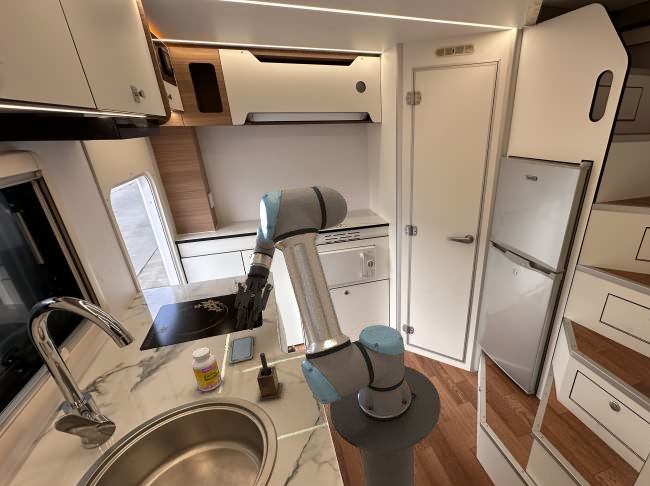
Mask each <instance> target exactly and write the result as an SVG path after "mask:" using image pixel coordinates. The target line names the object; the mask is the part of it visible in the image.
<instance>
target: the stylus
mask: <svg viewBox="0 0 650 486" xmlns="http://www.w3.org/2000/svg"><path fill="white" fill-rule="evenodd" d="M259 357H260V362H261V366H262V367H261V368H263V371H264V376H266V375H269V370H268V367H269V366H268V362H267V357H266V353H265V352H261V353H259Z"/></svg>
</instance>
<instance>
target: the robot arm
mask: <svg viewBox="0 0 650 486" xmlns="http://www.w3.org/2000/svg"><path fill="white" fill-rule="evenodd" d="M259 207H260V211H259V212H260V223H259V225H258V227H257V230H256V240H255V245H254V250H253V253H252V256H251V259H250V263H249V265H250V266H249V267H248V270H247V276H246V277H247V278H246V279H245V280H244V281H243V282H240V281H239V282H237V293H236V298H235V302H234V308H235V309H237V310H238V312H237V316H236V319H237V322H236V326H235V328H236V329H238V330H243V327H244V324H245V320H246V316H247V310H246V309H247V307H248V305H249V302H250V300H251V297H252V295H253V294H254V298H253V299H254V300H253V308H252V310H250V314H249V317H248V320H247V321H248V322H247V325H246V330H250V331H253V330H254V326H255V322H256V321H258V318H259V314H260V312H264V311H265V310H266V308H267V304H268V301H269V298H270V295H271V292H272V291H273V289H274V285H273V284H271V283H269V282H268V279H269V277H270V273H271V271H270V270H271V269H272V265H273V261H274V256H275V252H276V250H279V251H280V252H281V253H282V255H283V259H284V262H285V266H286V268H287V269H286V270H287V272H288V276H289V279H290V284H291V287H292V291H293V294H294V297H295V302H296V305H297V309H298V312H299V314H300V318H301V321H302V325H303V329H304V332H305V336H306V339H307V343H308V344H307V346H306V348H305V349H304V357H305V359H303V361H302V362H301V363H300V368H301V370H302V374H303V377H304V379H305V382H306V383H307V386H308V387H309V390H310V392H311V393H312V395H313V396H314V398H315V399H316V401H317V402H318V403H320V404H322V405H330V403H332V402H334V401H336V400H341V398H343V397H345V396H347V395H350V394H352V393H354V392H356V391H358V390H360V391H359V395H358V399H359V406H360V409H361V411H362V412H363V413H364V414H365V415H366V416H367V417H369V418H371V419H373V420H377V421H391V420H395V419H398V418H400V417H401V416H403V415H404V414H405V413H406V412H407V411H408V409H409V408H410V405H411V395H412V396H414V397H416V396H417V394H415V393H413V392H412V391H410V388H409V386H408V384H407V382H406V379H405V377H404V366H405V350H406V349H405V344H404V337H403V335H402V334H401V333H400V331H399V330H398V329H396V328H394V327H392V326H389V325H388V326H387V325H383V324H374V325H369V326H366V327H364V328H363V329H362V330H361V331H360V332H359V335H358V340H354V341H351V337H350V336H349V335H346V334H345V333H343V331H342V329H341V324H340V321H339V317H338V314H337V311H336V308H335V305H334V300H333V297H332V294H331V291H330V287H329V284H328V279H327V277H326V273H325V270H324V267H323V263H322V260H321V257H320V253H319V249H318V246H317V242H318V240H319V239H320V236H321V235H320V231H325V230H328V229H332V228H334V227H337V226H339V225H341V224H342V223H343V222H344V221H345V220H346V218H347V216H348V203H347V201H346V198H345V197H344V196H343V195H342V194H341V193H340V192H339V191H338V190H336V189H335V188H332V187H329V186H326V185H314V186H307V187H297V188H289V189H282V190H281V189H278V190H275V191H269V192H265V193H264V194H263V195H262V196H261V198H260V206H259Z"/></svg>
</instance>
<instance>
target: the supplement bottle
mask: <svg viewBox="0 0 650 486" xmlns="http://www.w3.org/2000/svg"><path fill="white" fill-rule="evenodd" d="M192 359H193V360H192V362H191V369H192V372H193V374H194V378H195V380H196V383H197V386H198V389H199V390H200V391H202V392H209V391H213V390H214V389H217V388H218V387H219V386H220V385H221V383H222V376H221V372H220V369H219V366H218V362H217V359H216V356H215V355H214V354H212V353H211V351H210V348H208V347H200V348H197V349H195V350H194V351H193V352H192Z"/></svg>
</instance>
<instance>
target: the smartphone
mask: <svg viewBox="0 0 650 486" xmlns="http://www.w3.org/2000/svg"><path fill="white" fill-rule="evenodd" d="M253 341H254V339H253V336H252V335H248V336H244V337H240V338H234V339H233V340H232V343H231V351H230V359H229V360H230V363H231V364H234V363H239V362H243V361H247V360H252V359H253V352H254V351H253V348H254V347H253V346H254V344H253V343H254V342H253Z"/></svg>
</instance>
